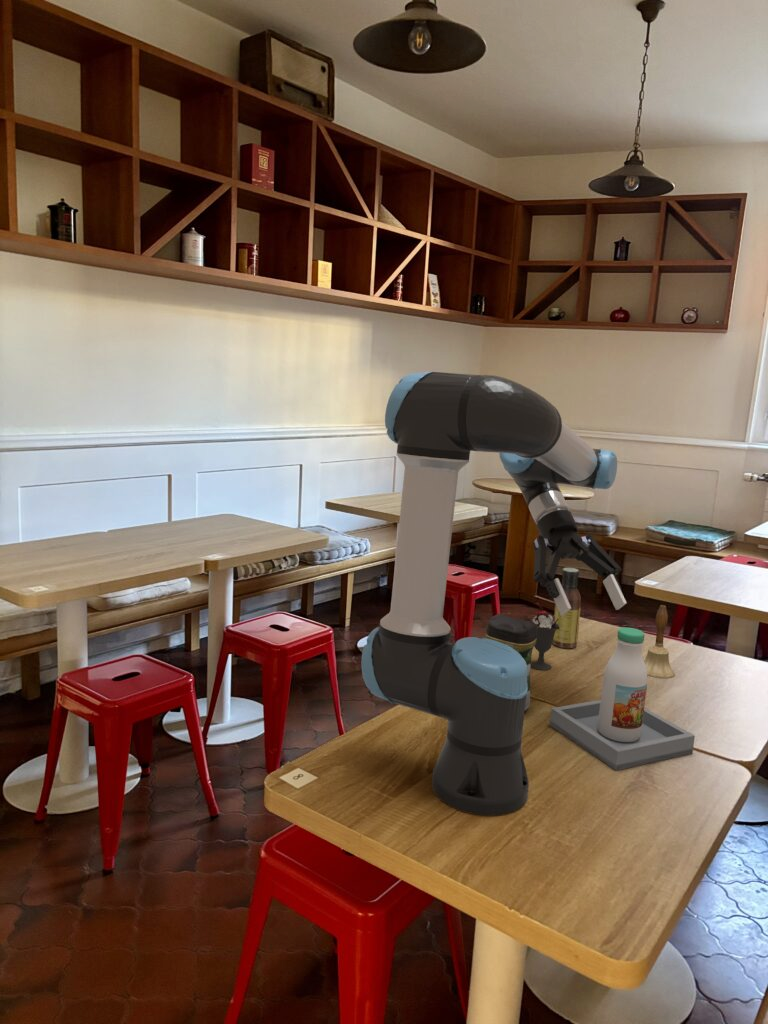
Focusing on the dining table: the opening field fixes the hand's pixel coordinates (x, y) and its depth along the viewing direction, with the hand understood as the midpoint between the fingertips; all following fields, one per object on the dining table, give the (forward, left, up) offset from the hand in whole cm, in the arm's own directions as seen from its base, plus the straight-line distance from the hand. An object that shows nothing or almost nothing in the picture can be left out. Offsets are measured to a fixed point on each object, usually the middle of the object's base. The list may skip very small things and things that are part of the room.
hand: (594, 609), depth 145 cm
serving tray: (0, -10, -22) cm, 24 cm away
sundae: (+8, +25, -22) cm, 34 cm away
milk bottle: (0, -10, -21) cm, 23 cm away
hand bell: (+33, +14, -22) cm, 42 cm away
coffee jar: (-13, +9, -22) cm, 27 cm away
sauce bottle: (+23, +35, -22) cm, 47 cm away
